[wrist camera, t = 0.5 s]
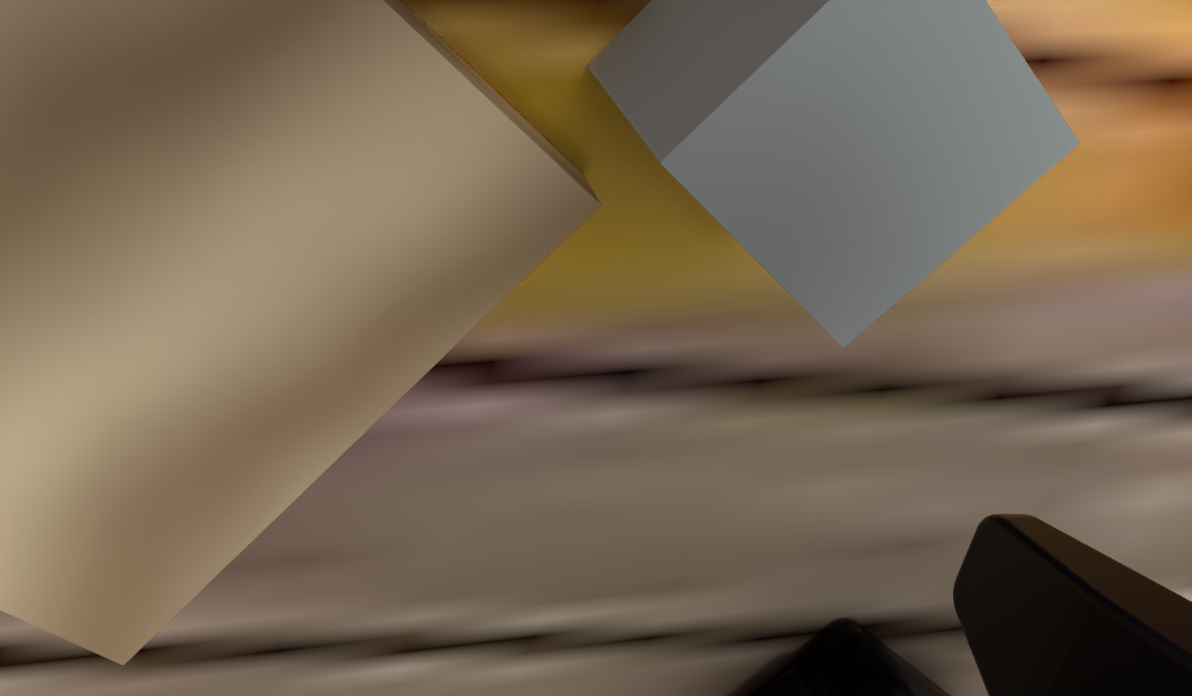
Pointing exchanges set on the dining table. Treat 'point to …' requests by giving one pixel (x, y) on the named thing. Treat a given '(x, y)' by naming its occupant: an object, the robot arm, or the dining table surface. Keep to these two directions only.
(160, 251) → the birch base
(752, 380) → the dining table surface
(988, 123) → the gray block
